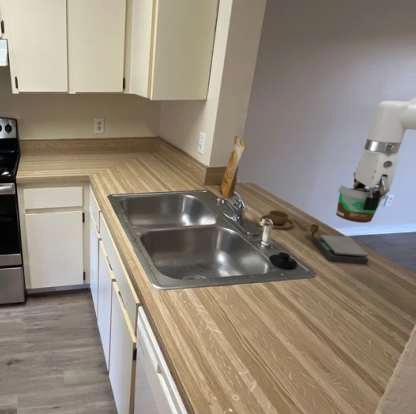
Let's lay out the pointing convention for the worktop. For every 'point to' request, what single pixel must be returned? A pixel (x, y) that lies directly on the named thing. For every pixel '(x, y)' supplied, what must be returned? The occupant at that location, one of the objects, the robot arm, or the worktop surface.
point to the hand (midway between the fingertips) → (362, 204)
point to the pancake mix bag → (232, 168)
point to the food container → (354, 204)
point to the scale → (338, 257)
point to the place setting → (282, 218)
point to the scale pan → (343, 245)
